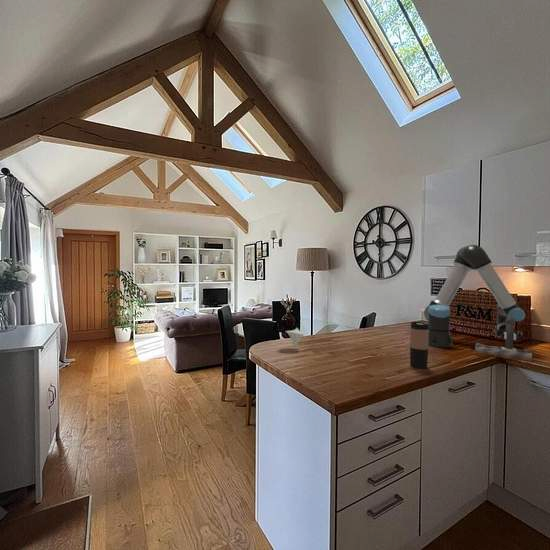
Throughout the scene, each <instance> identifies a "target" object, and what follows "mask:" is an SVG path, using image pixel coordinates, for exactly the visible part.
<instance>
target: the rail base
mask: <svg viewBox="0 0 550 550" xmlns="http://www.w3.org/2000/svg"><path fill="white" fill-rule="evenodd" d="M502 347H503V346H497V345H495V346H493V345H487V344H482V343H480V342H476V343H475V345H474V353H479V354H487V355H494V356H499V357H498V358H503V359H510V360H516V359H519V360H518V361H523V360H529V361H528V362H530V361H532V362H533V354H532V353H531V350H530V349H529V348H523V349H520V348H516V350H517V352H516V351H508V350H501V349H502ZM479 354H478V355H479ZM487 355H486V356H487ZM494 356H493V357H494Z"/></svg>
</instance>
